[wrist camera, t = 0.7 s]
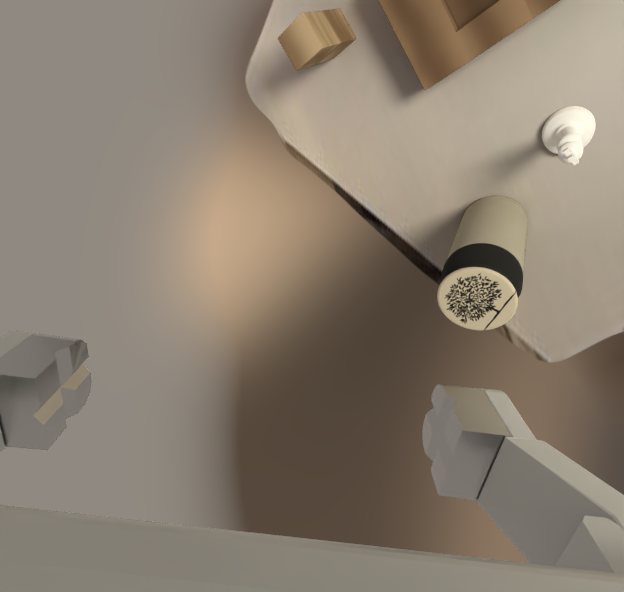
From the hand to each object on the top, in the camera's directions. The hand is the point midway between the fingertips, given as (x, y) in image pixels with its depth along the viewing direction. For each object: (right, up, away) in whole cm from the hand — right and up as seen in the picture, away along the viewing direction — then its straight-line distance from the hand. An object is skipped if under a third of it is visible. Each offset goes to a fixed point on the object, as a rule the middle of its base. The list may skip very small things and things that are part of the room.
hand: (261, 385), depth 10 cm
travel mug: (+25, +12, +44) cm, 52 cm away
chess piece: (+29, +20, +35) cm, 50 cm away
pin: (+4, +33, +39) cm, 51 cm away
